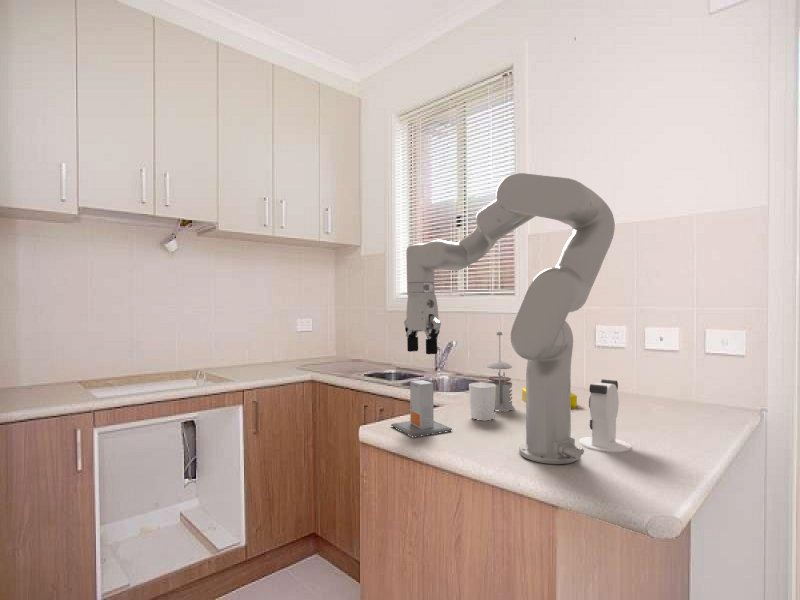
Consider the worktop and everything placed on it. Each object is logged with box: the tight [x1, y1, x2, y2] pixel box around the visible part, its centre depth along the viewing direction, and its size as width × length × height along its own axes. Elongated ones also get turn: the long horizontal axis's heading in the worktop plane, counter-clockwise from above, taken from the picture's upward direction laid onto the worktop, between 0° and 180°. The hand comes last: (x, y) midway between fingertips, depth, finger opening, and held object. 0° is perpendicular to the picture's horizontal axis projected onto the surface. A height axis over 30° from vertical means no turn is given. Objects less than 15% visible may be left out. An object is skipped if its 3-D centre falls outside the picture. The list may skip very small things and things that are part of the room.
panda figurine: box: [578, 378, 632, 454], centre depth 109 cm, size 12×11×15 cm
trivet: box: [390, 420, 453, 437], centre depth 123 cm, size 12×12×1 cm
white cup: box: [468, 382, 496, 421], centre depth 134 cm, size 8×8×10 cm
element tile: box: [521, 387, 578, 409], centre depth 154 cm, size 15×15×5 cm
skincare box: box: [409, 379, 435, 429], centre depth 122 cm, size 6×4×12 cm
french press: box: [486, 331, 516, 412], centre depth 146 cm, size 10×12×25 cm
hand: (421, 352), depth 122 cm, fingers open, 9 cm apart
